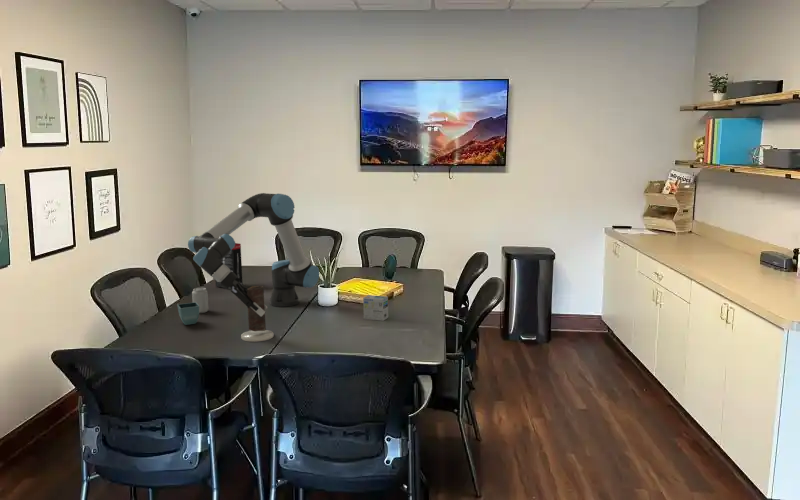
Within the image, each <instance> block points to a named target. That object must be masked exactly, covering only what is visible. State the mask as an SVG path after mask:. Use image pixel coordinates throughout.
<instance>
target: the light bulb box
mask: <svg viewBox="0 0 800 500" xmlns="http://www.w3.org/2000/svg"><path fill="white" fill-rule="evenodd" d="M362 301H363V305H362V306H363V307H362V308H363V320H371V321H381V322H382V321H383V322H384V321H385V320H387V319H388V318H389V296H388V295H387V296H384V295H371V294H368V295H366V296H363V300H362Z"/></svg>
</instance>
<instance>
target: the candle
mask: <svg viewBox="0 0 800 500" xmlns="http://www.w3.org/2000/svg"><path fill="white" fill-rule="evenodd" d="M247 288H248V287H247ZM264 289H265V288H264V286H262V285H252V286H250V287H249V288H248V289H247V296H248V297H249V298H250V299H251V300H252V301H253V302H255V303H256V304H257V305H258V306H259V307H261V308H262V309H263V310H264V311H265V313H264V315H263V316H262V317H261V316H260V315H258V314H257V313H256V312H255V311H254V310H253V309H252V308H251V307H249V308H247V320H248V331H266V330H267V329H266V327H267V326H266V324H267V323H266V310H265V307H264V305H265V291H264Z"/></svg>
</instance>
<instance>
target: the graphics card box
mask: <svg viewBox="0 0 800 500" xmlns="http://www.w3.org/2000/svg"><path fill="white" fill-rule="evenodd" d="M221 262H222V263H223V264H225V265H226V266H227V267H228V268H229V269H230V272H231V271H232V272H233V273H235V274H236V275H237V278H236V279H235V280H236V281H237V282H239V281H240V282H241V283H242V284H243V266H242V245H241V243H238V242H237V243H236V242H235V246H234V248H233V249H232V250H231V251H230V252H229V253H228V254H227V255H226V256H225V257H224V258H223V259H222V260H221ZM223 264H222V265H223ZM222 265H221V266H222ZM221 266H220V267H221ZM243 285H244V284H243ZM215 287H216V288H217V287H218V288H222V289H225V288H224V287H223V286H221V285H220V282H217V281H216V280H215ZM227 289H228V290H232V289H231V288H230V287H229V286H228V288H226V290H227Z"/></svg>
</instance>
